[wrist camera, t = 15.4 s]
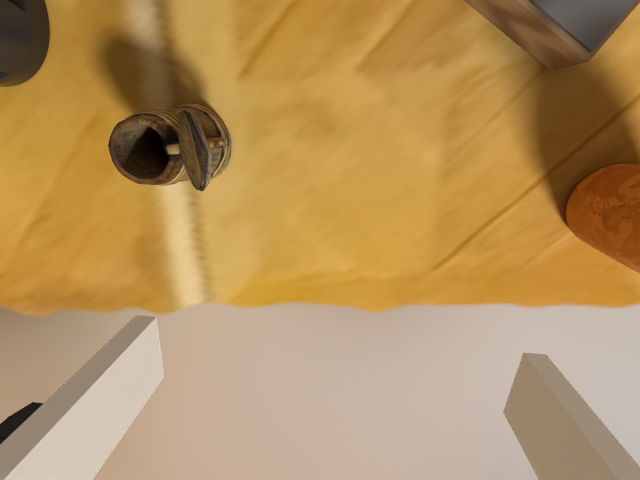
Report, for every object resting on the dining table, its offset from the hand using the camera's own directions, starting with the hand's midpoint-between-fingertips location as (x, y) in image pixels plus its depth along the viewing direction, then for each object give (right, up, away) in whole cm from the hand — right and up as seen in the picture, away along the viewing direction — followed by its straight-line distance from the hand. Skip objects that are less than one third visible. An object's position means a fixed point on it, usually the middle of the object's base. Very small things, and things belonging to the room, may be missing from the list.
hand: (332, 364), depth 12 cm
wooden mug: (-13, +16, +28) cm, 35 cm away
